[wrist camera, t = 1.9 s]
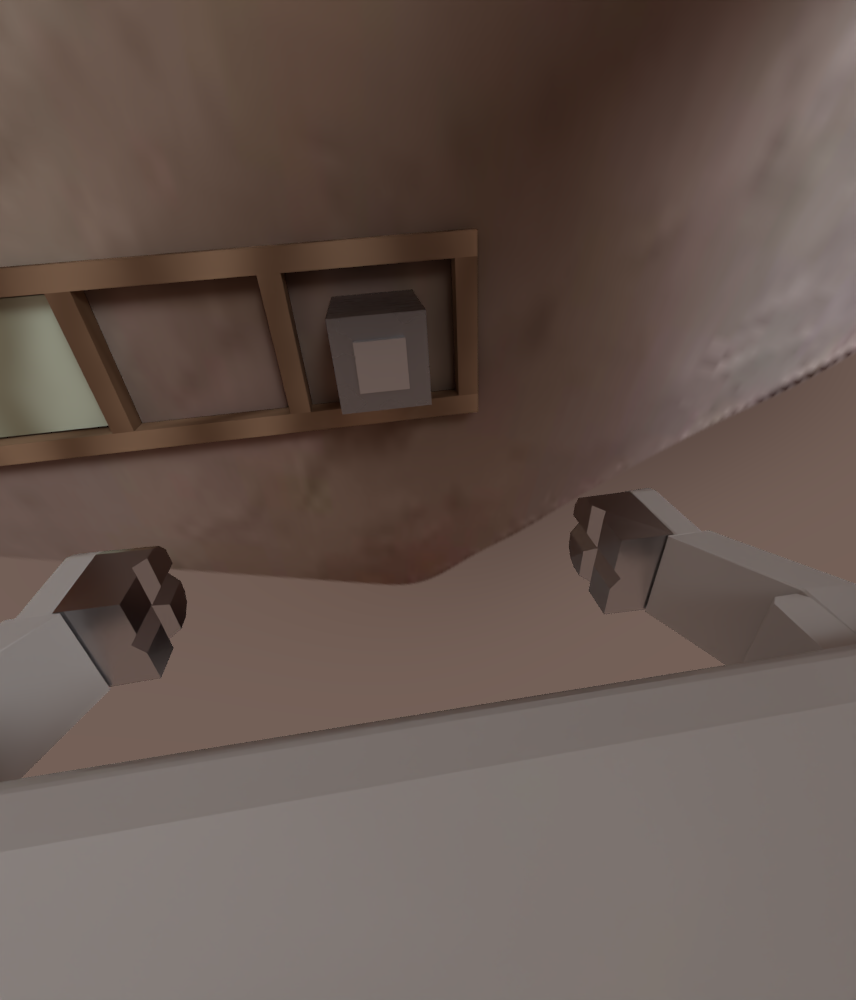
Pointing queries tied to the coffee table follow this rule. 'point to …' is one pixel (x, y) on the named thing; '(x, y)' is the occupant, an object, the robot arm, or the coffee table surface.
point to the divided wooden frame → (73, 327)
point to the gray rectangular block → (379, 351)
